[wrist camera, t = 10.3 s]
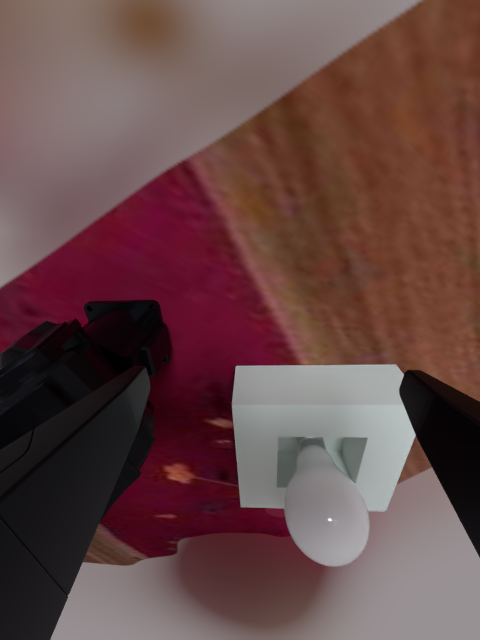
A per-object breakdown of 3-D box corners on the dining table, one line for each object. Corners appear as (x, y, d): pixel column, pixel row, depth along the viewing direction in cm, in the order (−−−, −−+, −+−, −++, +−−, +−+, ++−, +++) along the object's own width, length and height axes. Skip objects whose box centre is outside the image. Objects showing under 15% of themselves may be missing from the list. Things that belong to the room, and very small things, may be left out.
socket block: (242, 462, 32) (240, 507, 28) (235, 365, 25) (231, 404, 21) (367, 464, 31) (385, 511, 27) (395, 364, 24) (427, 405, 20)
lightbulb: (339, 404, 25) (392, 540, 16) (336, 446, 28) (378, 583, 19) (275, 407, 26) (287, 540, 16) (278, 448, 29) (289, 581, 19)
